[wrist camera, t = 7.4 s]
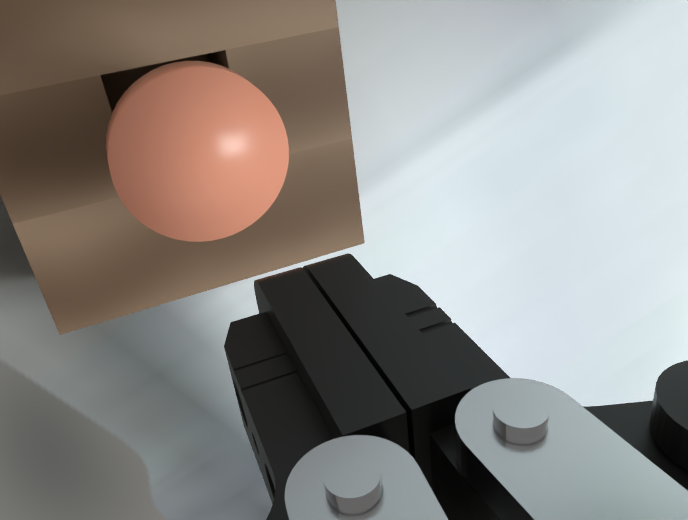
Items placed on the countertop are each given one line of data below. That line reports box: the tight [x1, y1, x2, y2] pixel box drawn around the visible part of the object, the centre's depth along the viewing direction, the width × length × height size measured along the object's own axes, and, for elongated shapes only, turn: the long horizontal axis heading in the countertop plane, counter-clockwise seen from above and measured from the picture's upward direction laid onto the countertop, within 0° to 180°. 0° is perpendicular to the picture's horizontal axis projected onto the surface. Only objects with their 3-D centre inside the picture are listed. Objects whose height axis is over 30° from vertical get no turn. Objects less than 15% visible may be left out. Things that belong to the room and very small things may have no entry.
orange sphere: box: [106, 61, 289, 242], centre depth 20 cm, size 5×5×5 cm
